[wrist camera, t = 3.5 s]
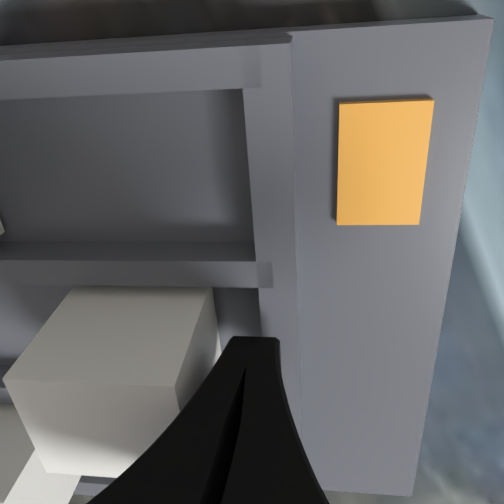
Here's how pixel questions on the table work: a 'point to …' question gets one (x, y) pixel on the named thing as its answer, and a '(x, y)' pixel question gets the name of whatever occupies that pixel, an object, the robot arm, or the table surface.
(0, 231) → the white block
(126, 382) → the white block
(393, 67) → the switch bank
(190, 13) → the table surface
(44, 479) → the white block
